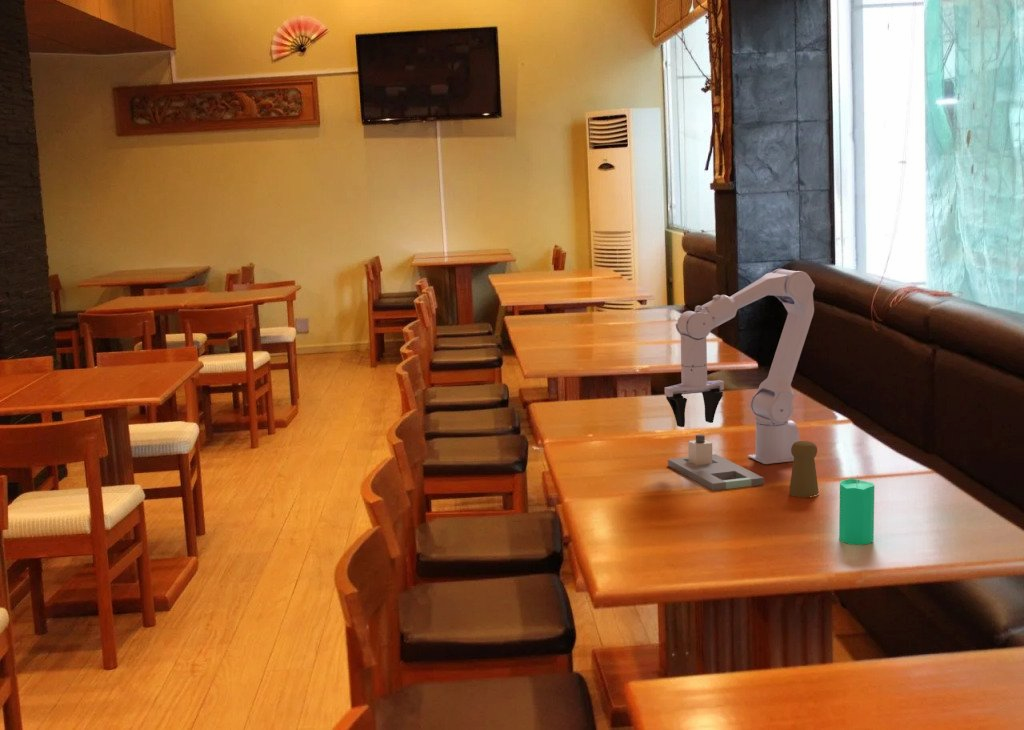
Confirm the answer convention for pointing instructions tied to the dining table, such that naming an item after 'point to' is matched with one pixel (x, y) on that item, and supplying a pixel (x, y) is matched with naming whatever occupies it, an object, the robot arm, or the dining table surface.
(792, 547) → the dining table surface
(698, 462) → the plug
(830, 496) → the dining table surface
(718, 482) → the grey board with holes
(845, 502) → the candle
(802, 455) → the cork
